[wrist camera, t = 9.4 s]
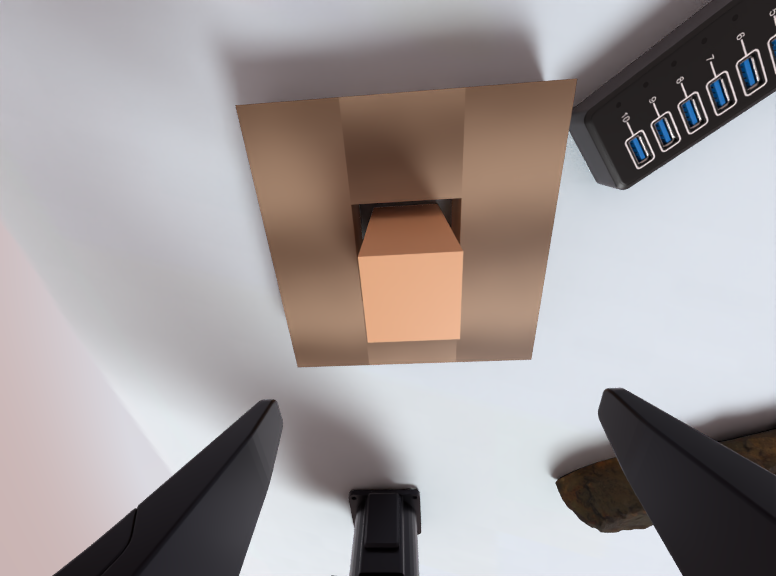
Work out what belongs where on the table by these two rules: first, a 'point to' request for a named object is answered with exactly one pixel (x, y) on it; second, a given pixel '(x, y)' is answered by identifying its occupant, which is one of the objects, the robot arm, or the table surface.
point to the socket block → (411, 183)
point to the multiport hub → (678, 91)
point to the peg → (411, 275)
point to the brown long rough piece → (618, 500)
